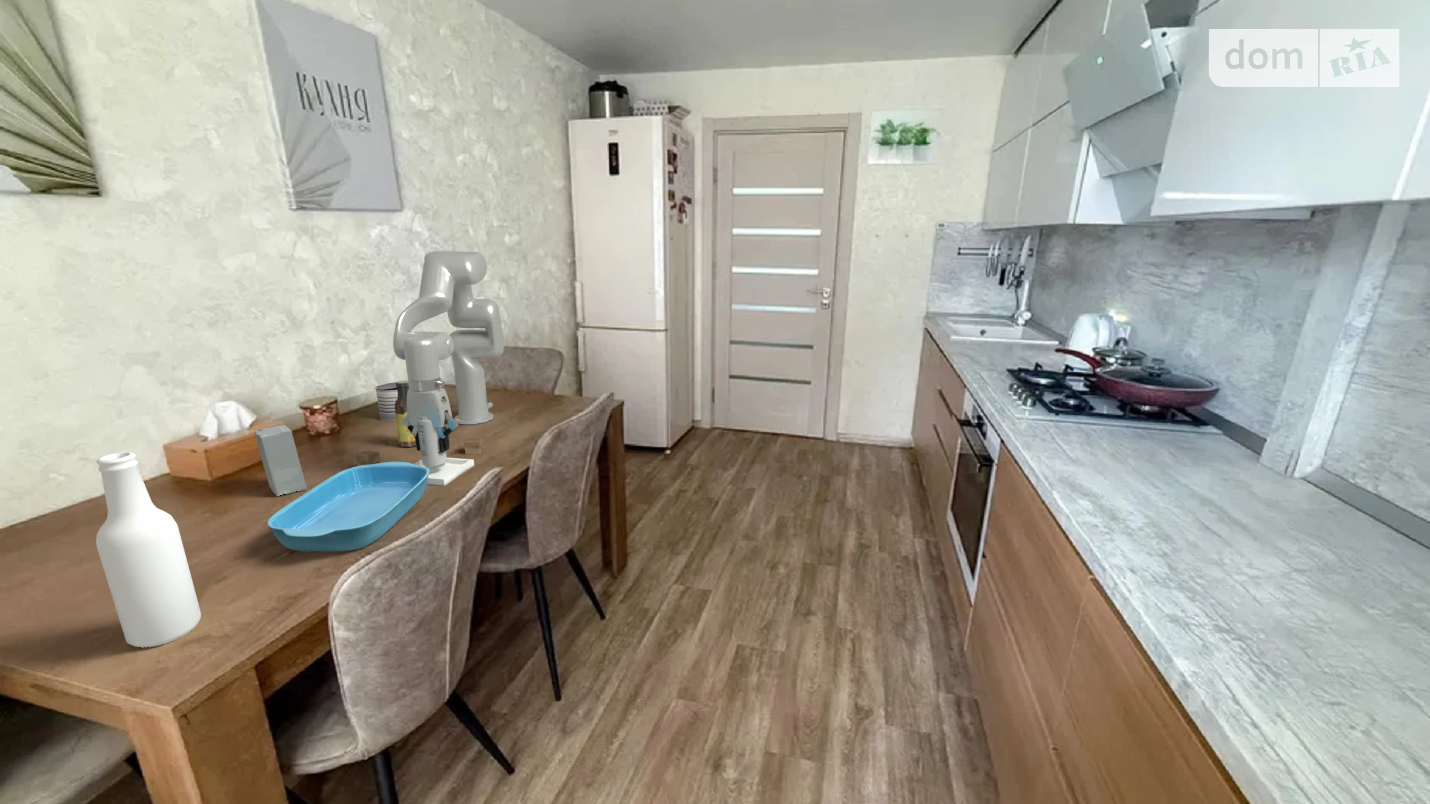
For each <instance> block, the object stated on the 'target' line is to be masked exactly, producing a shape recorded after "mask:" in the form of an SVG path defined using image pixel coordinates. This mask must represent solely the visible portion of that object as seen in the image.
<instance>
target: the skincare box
mask: <svg viewBox="0 0 1430 804" xmlns="http://www.w3.org/2000/svg"><path fill="white" fill-rule="evenodd" d="M253 432H254V436H255V440H256V444H257V447H258V452H259V454H260V458H261V461H262V465H263V468H264V472H265V474H266V475H265V476H266V478H267V482H268V486H269V489H270V488H271V489H270V490H271V491H272V493H274V495H275V494H276V495H275V496H276V497H281V496H280V495H282V496H284V495H283V494H286V495H289V494H292V493H297V492H301V491H305V490H307V489H308V487H307V483H306V479H305V477H304V473H303V469H302V465H301V462H300V458H299V454H298V450H297V447H296V443H295V439H294V436H293V435H294V434H293V431H292V429H291V428H289V427H288V426H287V425H286V424H281V425H276V426H270V427H267V428H266V427H265V428H262V429H257V430H256V429H255V430H254V431H253ZM296 491H297V492H296Z"/></svg>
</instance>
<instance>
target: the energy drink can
mask: <svg viewBox="0 0 1430 804" xmlns="http://www.w3.org/2000/svg"><path fill="white" fill-rule="evenodd" d="M417 428H418V435H419V443H420V456H421V457H420V458H421V460H422V464H423V465H424V466H425V467H426V468H428V469H435V468H440V467H442V466H444V465H445V463H446V462H447V458H448V457H447V451H445V452H440V447H439V438H441V437H440V435H439V433H438V431H437V428H434V427H433V425H432V422H431V420H429V419H428V418H426V417H425V415H421V417H419V418H418V419H417ZM442 429H443V428H442Z"/></svg>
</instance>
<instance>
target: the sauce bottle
mask: <svg viewBox="0 0 1430 804" xmlns="http://www.w3.org/2000/svg"><path fill="white" fill-rule="evenodd" d="M396 387H397V392H398V398H397V400H396V402H395V416H396V421H395V424H396V431H397V440H398V444H399V446H400V447H402V448H412V447H416V442H415V436H413V435H412V432H410V431H409V430H408V428H407V427H406V426H405V425H404V424H403V423H402V420H403V419H404V418H405V417H406V416H407V392H408V390H409V383H408V379H405V380H398V381H396Z"/></svg>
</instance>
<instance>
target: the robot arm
mask: <svg viewBox="0 0 1430 804" xmlns="http://www.w3.org/2000/svg"><path fill="white" fill-rule="evenodd" d="M423 260H424V261H423V265H422V271H421V272H422V273H421V278H420V279H421V280H420V285H419V286H420V287H419V292H418V297H417V298H416V299H415V300H414V301H412V302H411V303H410V304H409V305H408V306H407V307H405V309H404V310H403V311H401V313H400V314H399V316H398V317H397V319H396V322H395V325H394V326H395V327H394V333H393V340H392V342H393V343H392V348H393V352H394V354H395V356H396V357H397V358H398V359H400V360H404V362H405V366H406V374H407V380H408V383H409V390H408V392H407V416H406V417H405V418H404V419H403V420H402V423H403V424H404V425H405V426H406V427H407V428H408V430H409V431H410V432H412V435H413V436H415V442H416V446H415V447H416V450H417V451H418V452H419V451H420V452H421V450H420V443H419V435H418V428H417V419H418V418H419V417H421V415H425V417H426V418H428V419H429V420H431V422H432V425H433V427H434V428H437V431H438V433H439V435H440V437H441V438H439V447H440V452H445V451H446V452H447V451H449V450H450V438H449V436H450V435H451V434H452V433H453V431H455V429H457V427H458V426H459V424H460V425H478V423H479V424H484V423H487V422H490V421H491V420H493V418H494V414H493V413H492V412H490V411H489V409H491V408H492V407H493V406H494V404H493V402H491V401H490V402H488V398H487V397H488V395H487V387H486V376H485V369H484V366H483V365H482V364H481V363H480V362H479V361H478V359H480V358H481V359H482V358H486V359H487V358H499V357H501V356H502V355H503V353H504V351H505V342H504V333H503V327H502V320H501V313H500V309H499V306H498V303H497V302H496V301H495V300H493V299H489V298H475V297H474V293H473V288H472V286H473V285H474V286H475V285H476V284H479V283H480V282H481V281H482V280H483V279H484V278H485V277H486V274H487V272H488V271H487V270H488V268H487V267H488V266H487V260H486V259H485V256H484V255H483V253H481V252H479V251H455V250H454V251H453V250H438V251H437V250H436V251H435V250H434V251H430V252H427V253H425V256H424V259H423ZM444 313H447V316H448V317H447V318H448V321H449V323H450V325H451V326H452V327H454V328H459V329H458V330H455V331H453V332H451V333H450V334H448V333H447V332H444V331H413V329H414V328H415V327H417V326H418V325H419V324H421V323H423V322H424V321H428V320H429V319H432V318H434V317H436V316H440V315H442V314H444ZM450 356H451V361H452V365H453V372H454V381H455V382H454V383H455V384H454V385H455V393H456V400H457V409H458V411H457V412H458V414H457V415H455V417H454V418H453V415H452V409H451V404H450V400H449V397H448V393H447V390H446V389H445V388H444V387H445V385H446V383H445V381H442V377H441V372H440V362H439V361H442V360H446V359H448V358H449V357H450ZM489 420H490V421H489ZM448 425H449V426H448ZM442 428H443V429H442Z"/></svg>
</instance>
